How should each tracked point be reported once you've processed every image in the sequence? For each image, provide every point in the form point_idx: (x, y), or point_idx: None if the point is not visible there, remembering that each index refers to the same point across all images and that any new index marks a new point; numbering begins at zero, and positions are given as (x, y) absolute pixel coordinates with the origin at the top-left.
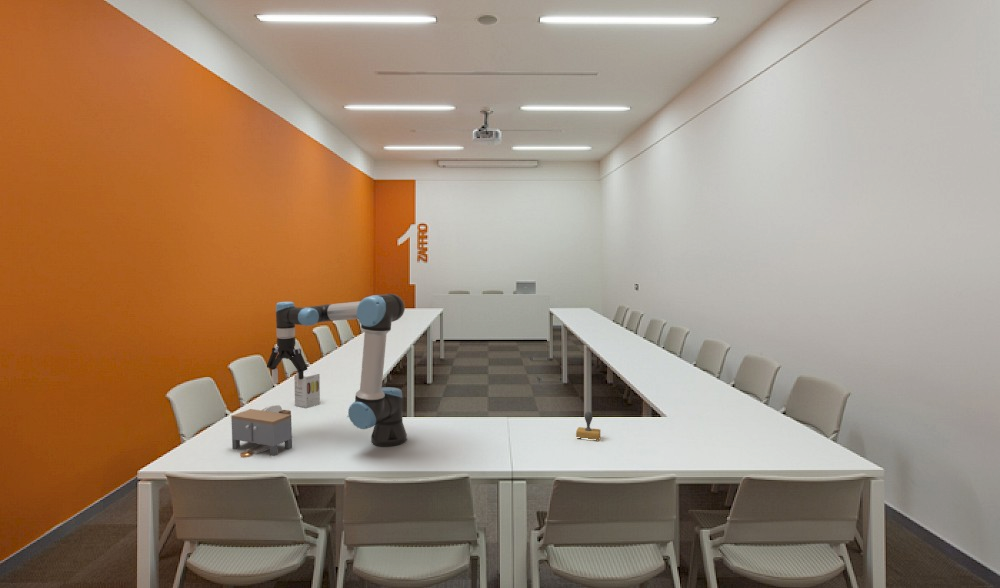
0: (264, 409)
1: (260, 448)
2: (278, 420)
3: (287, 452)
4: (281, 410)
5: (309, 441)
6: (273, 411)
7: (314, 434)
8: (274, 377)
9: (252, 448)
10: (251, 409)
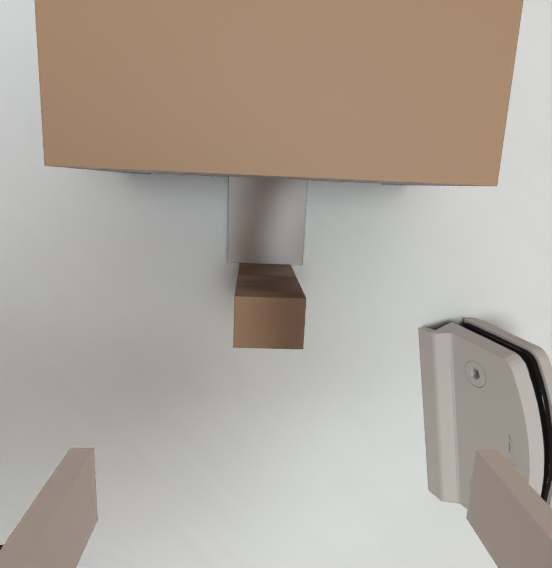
0: (538, 421)
1: None
2: (37, 1)
3: None
4: None
5: (106, 279)
6: None
7: (157, 372)
8: (523, 529)
9: None
10: (480, 176)
